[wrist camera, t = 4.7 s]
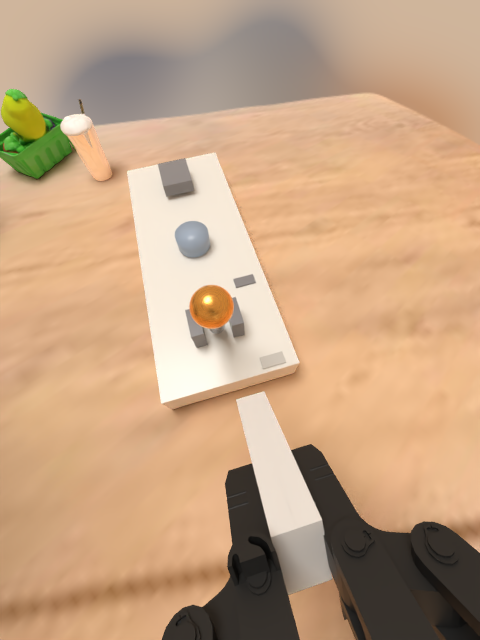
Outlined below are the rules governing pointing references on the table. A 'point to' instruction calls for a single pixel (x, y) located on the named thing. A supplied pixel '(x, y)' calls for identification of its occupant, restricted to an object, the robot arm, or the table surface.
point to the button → (192, 238)
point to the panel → (195, 272)
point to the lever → (211, 307)
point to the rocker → (175, 177)
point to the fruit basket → (30, 136)
